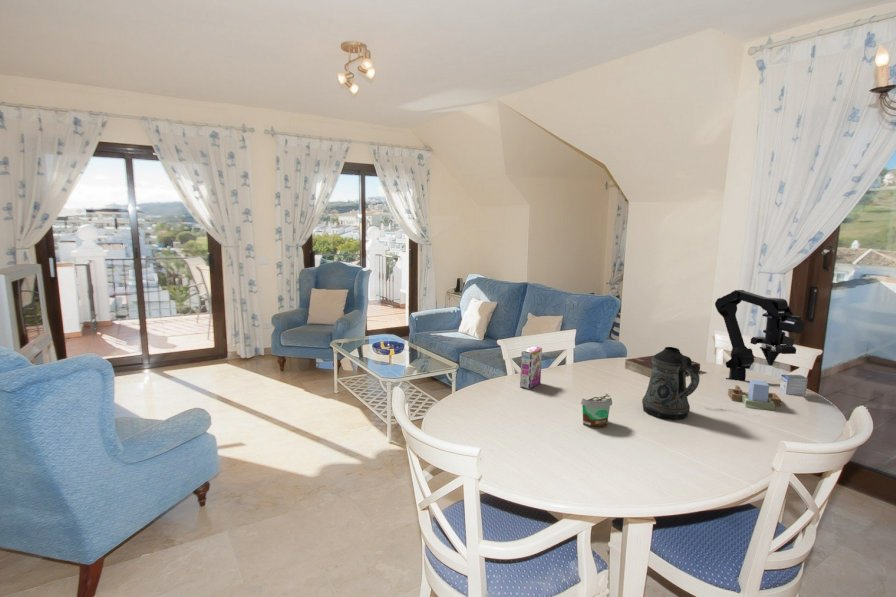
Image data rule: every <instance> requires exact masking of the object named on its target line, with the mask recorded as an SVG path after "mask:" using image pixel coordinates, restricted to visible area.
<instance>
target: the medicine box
mask: <svg viewBox="0 0 896 597" xmlns="http://www.w3.org/2000/svg"><path fill="white" fill-rule="evenodd" d="M780 376H781V377H780V383H779V384H780V386H779V392H781V393H783V394H784V395H797V396H798V395H800V396H801V397H802V398H804V399H806V397H807V396H806V394H807V388H808V377H806V376H803V375H801V374H781V375H780Z"/></svg>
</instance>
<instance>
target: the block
mask: <svg viewBox="0 0 896 597" xmlns="http://www.w3.org/2000/svg"><path fill="white" fill-rule="evenodd" d="M748 386H749V387H748V392H749V394H748V399H749V400H752V401H761V402H768V393H770V392H769V391H770V384H768V382H766V380H761V379H760V380H759V379H752V378H751V379H749V385H748Z"/></svg>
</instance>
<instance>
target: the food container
mask: <svg viewBox="0 0 896 597" xmlns="http://www.w3.org/2000/svg"><path fill="white" fill-rule="evenodd" d="M581 399H582V400H581V402H580V404H581V406H582V425H583V426H584V427H586V428H587V427H588V428H591V429H602V428H603V429H604V428H606V427H607V426H608V422H609V414H610V408H611V406H612V405H613V399H612V397H611V395H610V394H609V393H605V395H603V396H594V397H592V398H589V399H586V398H583V397H582V398H581Z"/></svg>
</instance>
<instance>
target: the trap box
mask: <svg viewBox="0 0 896 597" xmlns="http://www.w3.org/2000/svg"><path fill="white" fill-rule="evenodd" d="M748 394H749V391H747V392H746V391H743V390H742V388H741V387H740V385H734V388H728V391H727V395H728V397H729V399H730V401H731V402H739V403H742V405H743V406H744V407H745V408H750V409H759V410H766V411H767V410H768V411H775V408H776V406H777V407H781V403H782V399H781V398H780V397H779V396H778V394H776V393H775V392H773V393H772V392H769V393H768V402H761V401H752V400H749V399H748Z"/></svg>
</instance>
